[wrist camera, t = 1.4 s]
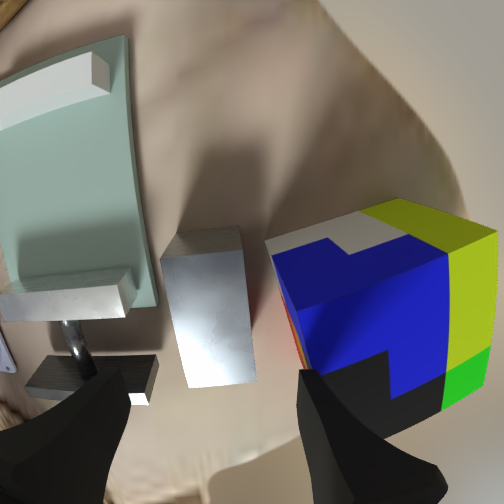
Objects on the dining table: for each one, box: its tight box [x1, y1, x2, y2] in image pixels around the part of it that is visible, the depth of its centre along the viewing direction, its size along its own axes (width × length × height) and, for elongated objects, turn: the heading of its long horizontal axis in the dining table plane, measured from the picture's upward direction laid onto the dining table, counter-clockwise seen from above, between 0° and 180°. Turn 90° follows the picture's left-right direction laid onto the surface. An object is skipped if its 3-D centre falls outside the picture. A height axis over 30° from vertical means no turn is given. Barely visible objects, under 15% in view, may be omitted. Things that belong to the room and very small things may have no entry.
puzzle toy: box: [265, 198, 498, 439], centre depth 17 cm, size 10×10×10 cm
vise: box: [0, 35, 159, 308], centre depth 16 cm, size 12×18×4 cm, turn 5°
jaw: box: [0, 267, 159, 405], centre depth 18 cm, size 10×8×4 cm
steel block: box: [160, 226, 257, 388], centre depth 19 cm, size 4×8×6 cm, turn 5°
